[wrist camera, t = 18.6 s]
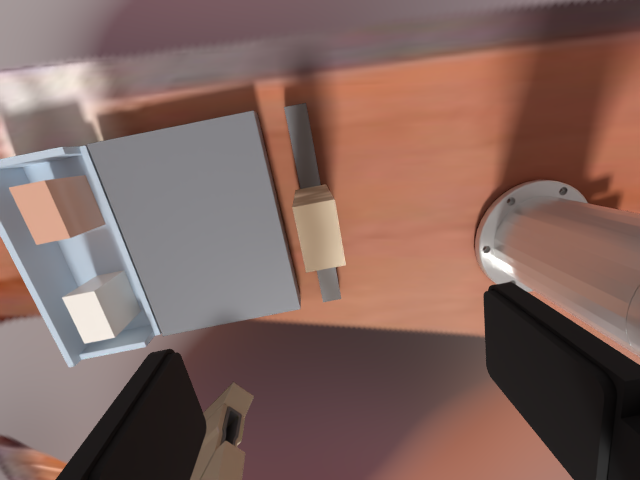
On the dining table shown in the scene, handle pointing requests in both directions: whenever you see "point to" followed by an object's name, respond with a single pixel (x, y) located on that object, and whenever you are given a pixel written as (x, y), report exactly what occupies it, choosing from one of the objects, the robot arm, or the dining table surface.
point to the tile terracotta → (58, 208)
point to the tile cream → (102, 306)
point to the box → (70, 254)
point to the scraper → (314, 208)
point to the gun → (223, 437)
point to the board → (201, 221)
